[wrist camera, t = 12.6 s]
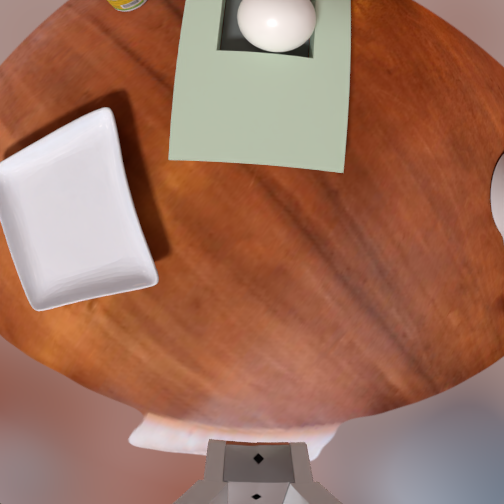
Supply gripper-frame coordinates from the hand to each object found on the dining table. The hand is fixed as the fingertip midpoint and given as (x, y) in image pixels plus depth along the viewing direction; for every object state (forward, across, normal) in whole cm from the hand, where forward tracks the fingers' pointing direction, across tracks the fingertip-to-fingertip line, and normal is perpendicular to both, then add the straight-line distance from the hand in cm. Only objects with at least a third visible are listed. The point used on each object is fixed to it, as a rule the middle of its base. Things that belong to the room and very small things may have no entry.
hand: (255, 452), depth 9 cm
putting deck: (+29, 0, -20) cm, 35 cm away
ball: (+25, -1, -24) cm, 35 cm away
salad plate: (+30, +23, -1) cm, 38 cm away
